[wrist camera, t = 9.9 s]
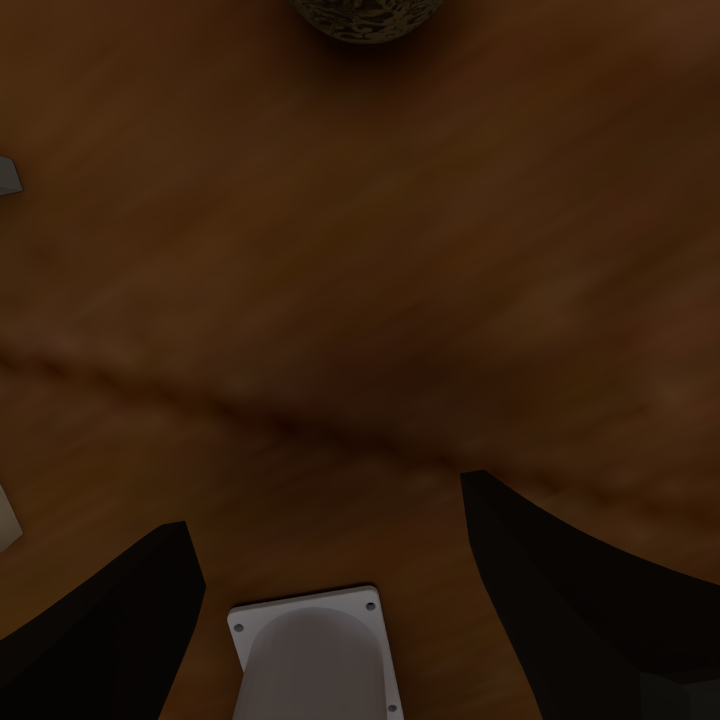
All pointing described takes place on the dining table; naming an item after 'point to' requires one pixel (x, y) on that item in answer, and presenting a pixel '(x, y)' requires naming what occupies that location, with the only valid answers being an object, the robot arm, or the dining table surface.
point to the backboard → (8, 177)
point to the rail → (7, 523)
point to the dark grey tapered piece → (366, 17)
